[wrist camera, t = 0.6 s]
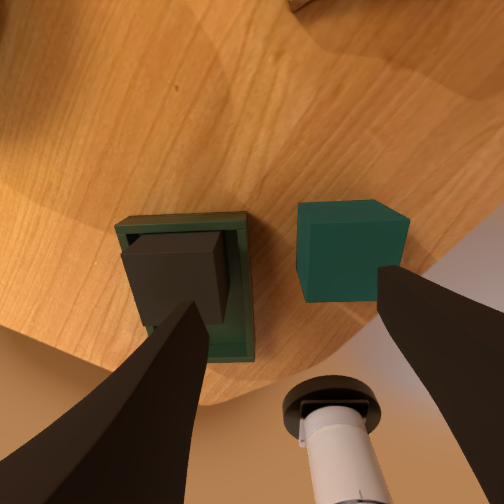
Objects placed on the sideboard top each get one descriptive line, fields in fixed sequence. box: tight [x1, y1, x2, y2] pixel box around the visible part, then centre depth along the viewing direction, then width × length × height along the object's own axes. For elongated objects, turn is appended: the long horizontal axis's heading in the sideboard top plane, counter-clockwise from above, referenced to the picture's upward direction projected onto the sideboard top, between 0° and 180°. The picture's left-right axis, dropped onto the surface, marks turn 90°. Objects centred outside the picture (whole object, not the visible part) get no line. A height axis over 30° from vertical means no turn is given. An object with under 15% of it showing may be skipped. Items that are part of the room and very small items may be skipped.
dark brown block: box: [121, 230, 230, 326], centre depth 16 cm, size 5×5×4 cm
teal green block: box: [296, 200, 410, 303], centre depth 15 cm, size 5×5×4 cm
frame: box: [114, 211, 255, 363], centre depth 18 cm, size 12×8×2 cm
